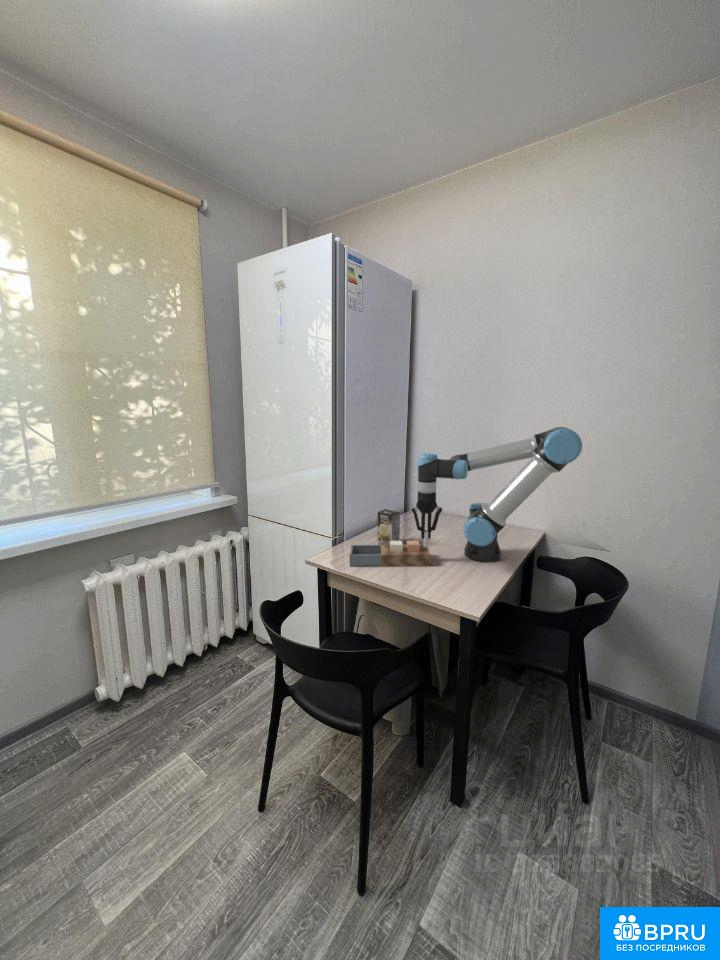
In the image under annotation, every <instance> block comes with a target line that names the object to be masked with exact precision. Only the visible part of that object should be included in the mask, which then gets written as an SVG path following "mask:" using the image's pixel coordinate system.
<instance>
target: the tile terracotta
mask: <svg viewBox="0 0 720 960" xmlns="http://www.w3.org/2000/svg"><path fill="white" fill-rule="evenodd" d="M406 544H407V551H408V552H418V551H420V544H421V543H420V541H419V540H406Z"/></svg>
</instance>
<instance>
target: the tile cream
mask: <svg viewBox="0 0 720 960" xmlns="http://www.w3.org/2000/svg"><path fill="white" fill-rule="evenodd" d="M390 550H391V552H403V541H402V540H400V541H390Z"/></svg>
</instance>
